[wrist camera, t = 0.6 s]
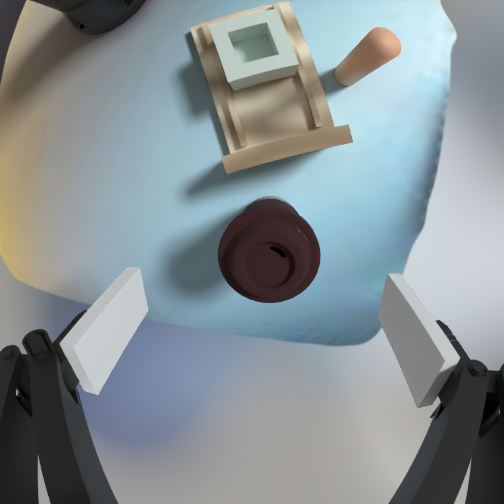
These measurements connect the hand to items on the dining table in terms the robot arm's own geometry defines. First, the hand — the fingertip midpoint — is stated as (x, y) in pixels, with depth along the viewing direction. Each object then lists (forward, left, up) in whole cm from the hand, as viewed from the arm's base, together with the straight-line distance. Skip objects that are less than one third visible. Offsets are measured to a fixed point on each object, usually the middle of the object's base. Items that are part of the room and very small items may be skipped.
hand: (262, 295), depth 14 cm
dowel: (-14, +15, -26) cm, 33 cm away
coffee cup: (+3, -1, -26) cm, 26 cm away
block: (-19, +4, -24) cm, 31 cm away
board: (-16, +4, -26) cm, 31 cm away
